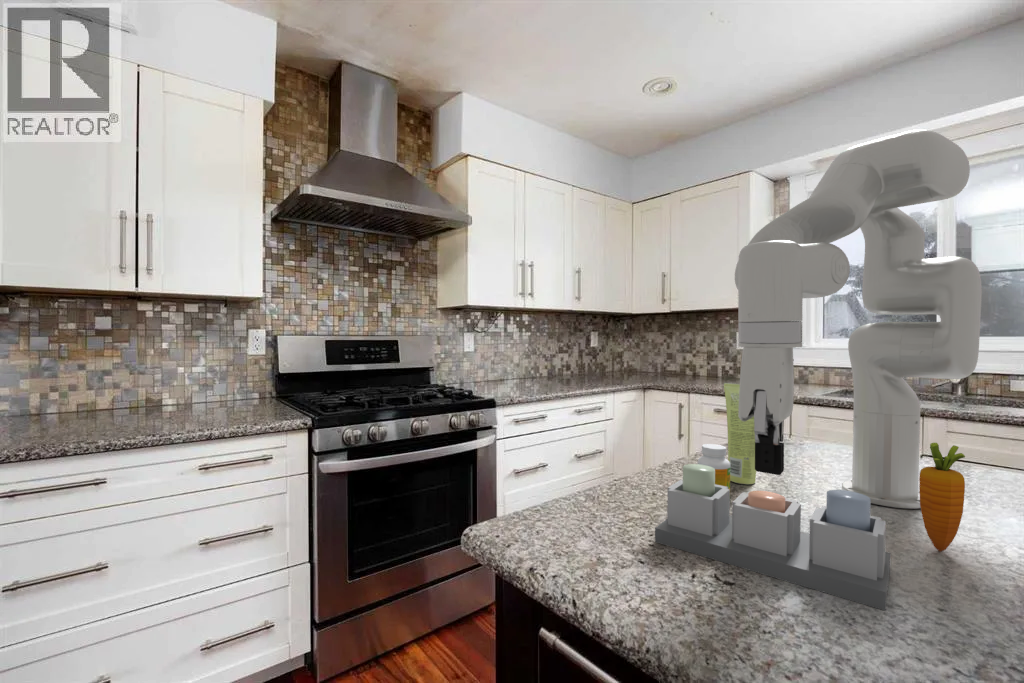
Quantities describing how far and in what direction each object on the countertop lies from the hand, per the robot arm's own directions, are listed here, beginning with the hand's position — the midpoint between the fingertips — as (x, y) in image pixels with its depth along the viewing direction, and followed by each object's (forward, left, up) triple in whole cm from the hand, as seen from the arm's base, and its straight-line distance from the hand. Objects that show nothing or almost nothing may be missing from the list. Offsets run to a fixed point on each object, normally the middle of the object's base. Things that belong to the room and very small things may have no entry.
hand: (769, 471), depth 65 cm
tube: (-31, -11, -11) cm, 35 cm away
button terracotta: (+1, 0, -8) cm, 8 cm away
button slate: (+1, +9, -6) cm, 11 cm away
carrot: (-16, +18, -11) cm, 26 cm away
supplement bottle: (-16, -12, -11) cm, 23 cm away
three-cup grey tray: (+1, 0, -11) cm, 11 cm away
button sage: (+1, -9, -6) cm, 11 cm away
